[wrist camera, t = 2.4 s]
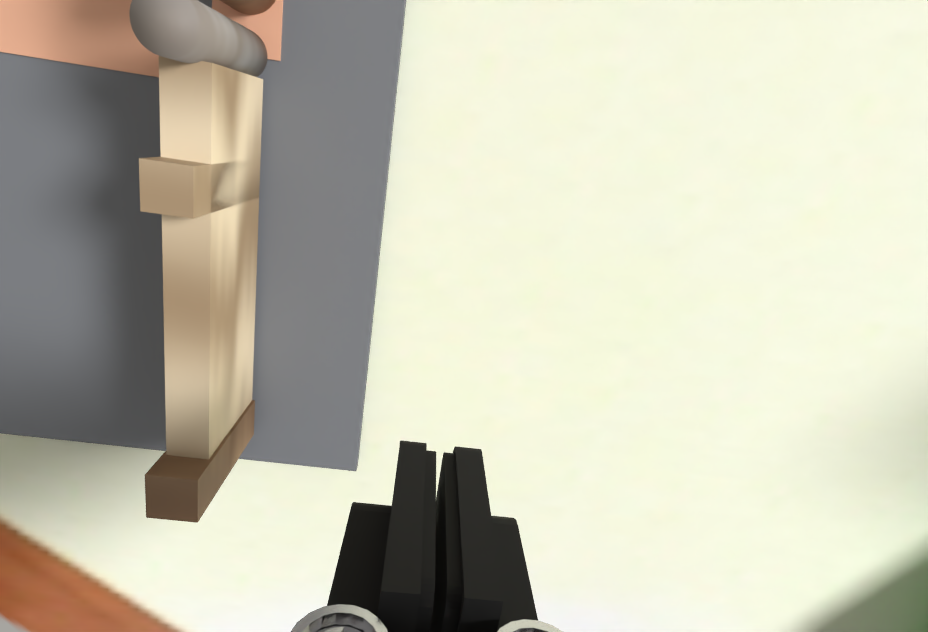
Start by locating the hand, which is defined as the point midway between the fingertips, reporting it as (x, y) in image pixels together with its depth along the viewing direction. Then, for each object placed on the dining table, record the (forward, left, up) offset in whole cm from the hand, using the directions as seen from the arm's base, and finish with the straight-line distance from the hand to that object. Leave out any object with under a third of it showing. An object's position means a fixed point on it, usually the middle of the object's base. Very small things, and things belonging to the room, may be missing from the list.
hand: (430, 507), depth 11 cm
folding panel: (-3, -7, -9) cm, 11 cm away
